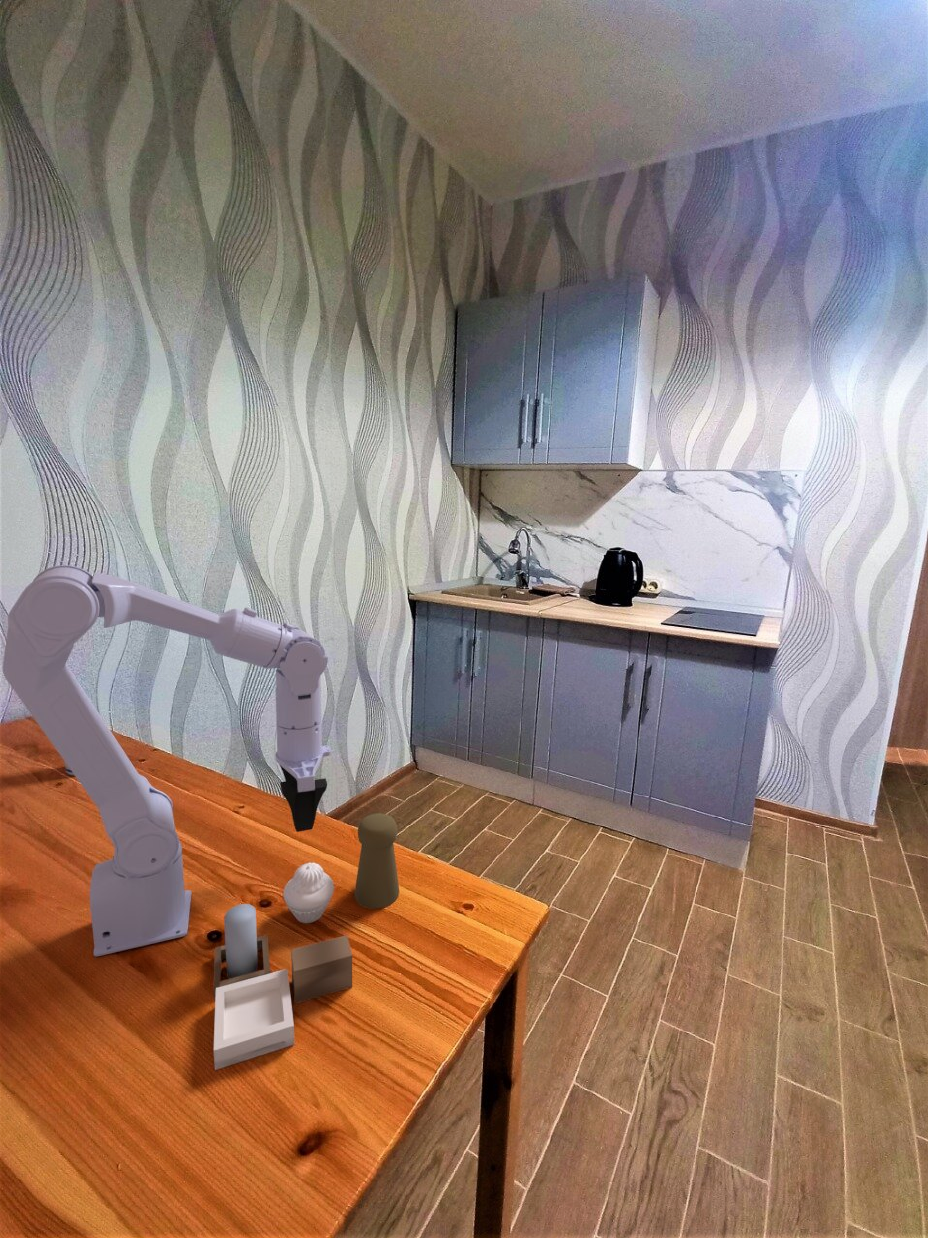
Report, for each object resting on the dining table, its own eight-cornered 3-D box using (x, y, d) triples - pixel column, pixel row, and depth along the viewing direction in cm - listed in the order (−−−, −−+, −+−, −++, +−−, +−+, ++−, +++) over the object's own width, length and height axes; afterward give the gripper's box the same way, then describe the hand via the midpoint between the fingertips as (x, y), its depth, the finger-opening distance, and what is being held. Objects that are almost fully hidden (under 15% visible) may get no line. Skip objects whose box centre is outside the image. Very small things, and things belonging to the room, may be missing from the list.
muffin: (293, 896, 72) (292, 849, 71) (339, 898, 72) (339, 851, 71) (276, 931, 66) (275, 880, 65) (326, 934, 66) (326, 883, 65)
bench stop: (294, 1004, 57) (294, 971, 56) (292, 981, 60) (291, 949, 59) (352, 986, 59) (352, 955, 58) (347, 965, 62) (347, 935, 61)
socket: (214, 997, 57) (213, 987, 57) (215, 956, 62) (215, 947, 62) (270, 981, 59) (270, 972, 59) (267, 943, 64) (267, 935, 64)
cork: (390, 912, 70) (392, 836, 68) (346, 904, 71) (346, 828, 69) (405, 882, 76) (406, 810, 74) (364, 874, 77) (364, 804, 75)
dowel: (226, 984, 59) (223, 928, 57) (226, 962, 62) (224, 908, 60) (258, 976, 60) (256, 921, 59) (257, 954, 63) (255, 901, 62)
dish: (214, 1070, 50) (213, 1050, 50) (216, 1006, 56) (215, 988, 56) (294, 1044, 53) (293, 1025, 52) (287, 986, 59) (287, 968, 59)
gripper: (339, 739, 67) (339, 838, 70) (322, 699, 80) (322, 784, 83) (279, 746, 64) (281, 849, 67) (271, 704, 77) (273, 791, 80)
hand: (301, 814), depth 75 cm, fingers open, 7 cm apart
